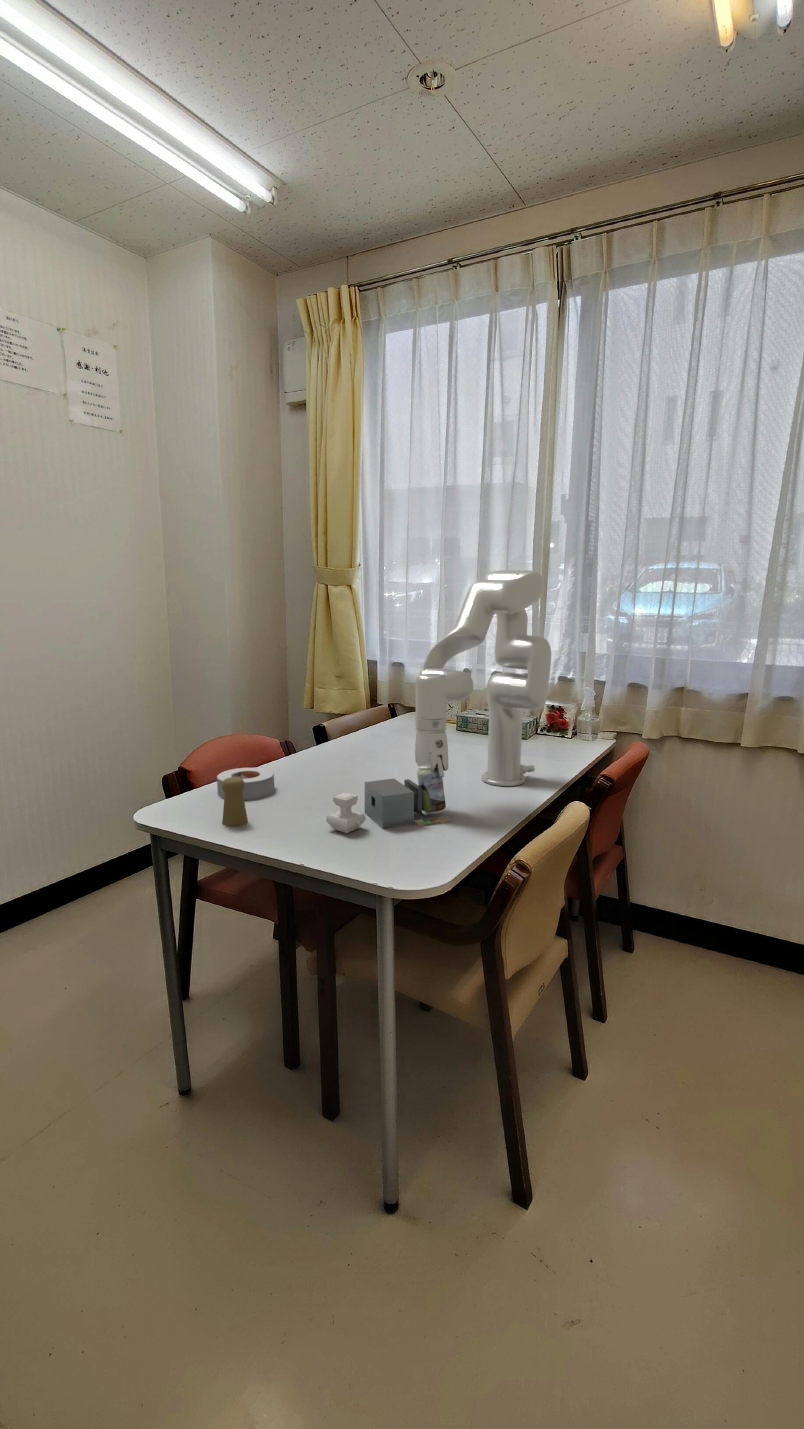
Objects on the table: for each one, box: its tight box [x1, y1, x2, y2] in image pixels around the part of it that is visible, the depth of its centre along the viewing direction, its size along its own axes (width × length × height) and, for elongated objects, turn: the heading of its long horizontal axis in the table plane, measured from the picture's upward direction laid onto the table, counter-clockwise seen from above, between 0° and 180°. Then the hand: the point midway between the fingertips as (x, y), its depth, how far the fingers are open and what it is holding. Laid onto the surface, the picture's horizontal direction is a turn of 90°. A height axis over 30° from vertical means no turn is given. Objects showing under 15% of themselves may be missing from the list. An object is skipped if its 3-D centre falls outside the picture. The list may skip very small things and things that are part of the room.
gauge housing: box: [364, 778, 415, 830], centre depth 160 cm, size 8×12×8 cm, turn 24°
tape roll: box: [216, 767, 275, 801], centre depth 181 cm, size 15×15×5 cm
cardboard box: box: [414, 815, 452, 827], centre depth 158 cm, size 8×3×1 cm, turn 114°
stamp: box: [325, 792, 367, 834], centre depth 153 cm, size 9×7×8 cm
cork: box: [222, 777, 249, 828], centre depth 157 cm, size 6×6×11 cm
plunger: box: [403, 778, 428, 819], centre depth 159 cm, size 9×11×6 cm
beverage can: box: [416, 766, 447, 815], centre depth 162 cm, size 6×7×12 cm
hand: (429, 795), depth 164 cm, fingers closed on beverage can, 2 cm apart
